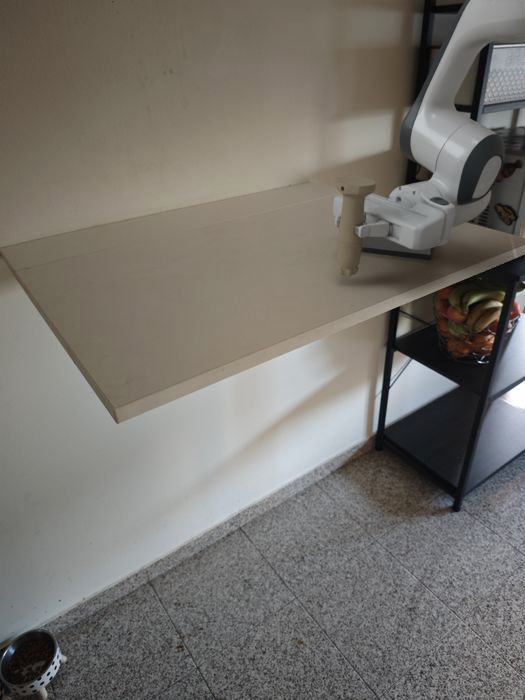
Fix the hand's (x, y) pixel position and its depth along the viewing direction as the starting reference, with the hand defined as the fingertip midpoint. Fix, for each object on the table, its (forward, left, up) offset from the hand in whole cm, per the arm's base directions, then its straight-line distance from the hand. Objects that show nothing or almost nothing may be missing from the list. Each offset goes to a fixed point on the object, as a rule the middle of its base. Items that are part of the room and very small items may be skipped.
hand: (347, 227), depth 78 cm
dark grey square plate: (-5, -24, -10) cm, 26 cm away
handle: (-1, -1, -8) cm, 8 cm away
